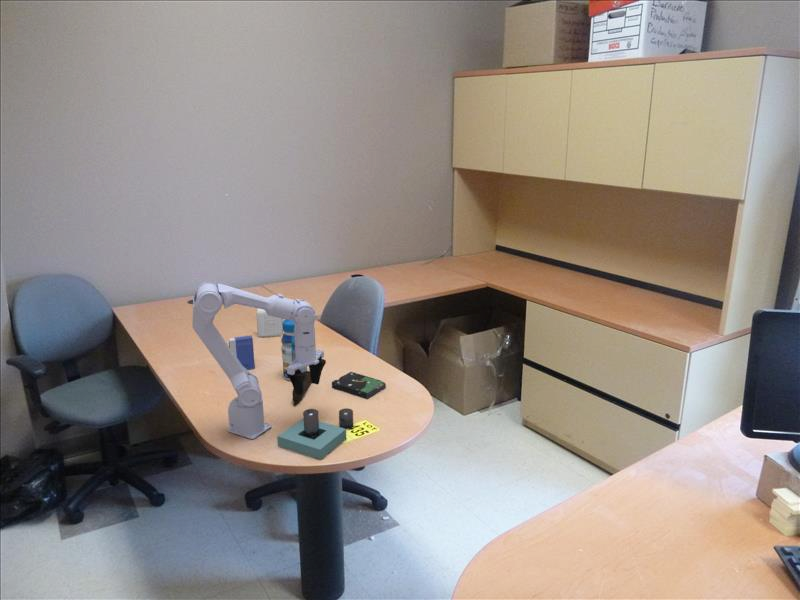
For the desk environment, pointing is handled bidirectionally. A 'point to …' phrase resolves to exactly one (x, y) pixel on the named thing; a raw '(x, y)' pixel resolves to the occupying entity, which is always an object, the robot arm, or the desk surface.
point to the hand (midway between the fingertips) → (307, 388)
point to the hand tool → (307, 380)
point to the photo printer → (268, 324)
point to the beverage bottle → (288, 346)
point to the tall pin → (311, 423)
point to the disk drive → (359, 385)
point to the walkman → (243, 350)
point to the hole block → (313, 448)
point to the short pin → (346, 418)
